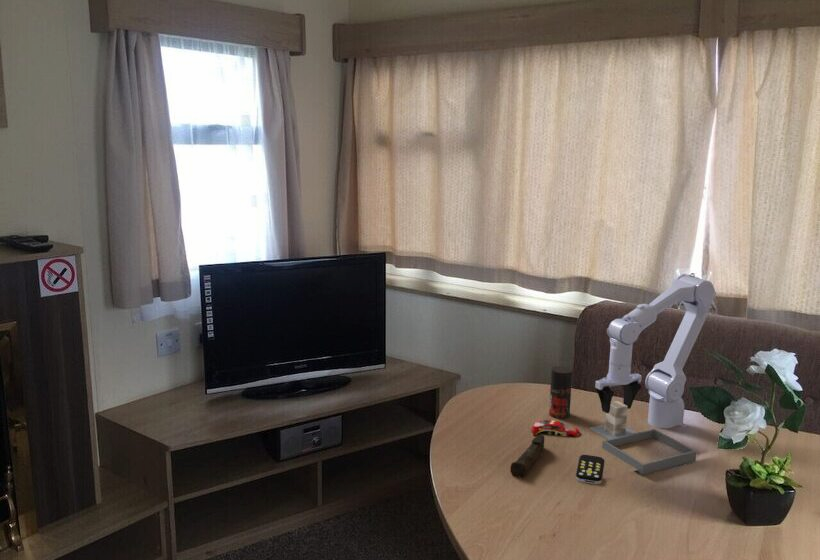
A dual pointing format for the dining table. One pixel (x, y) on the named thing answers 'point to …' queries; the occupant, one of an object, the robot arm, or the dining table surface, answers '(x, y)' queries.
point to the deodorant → (560, 392)
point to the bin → (653, 466)
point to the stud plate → (607, 435)
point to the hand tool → (528, 457)
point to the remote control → (590, 469)
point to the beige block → (616, 418)
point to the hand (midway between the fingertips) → (616, 409)
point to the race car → (554, 428)
